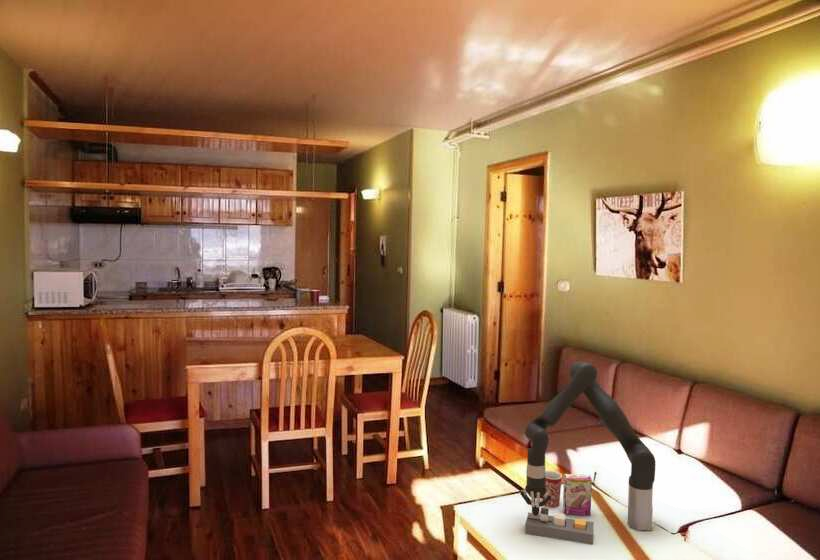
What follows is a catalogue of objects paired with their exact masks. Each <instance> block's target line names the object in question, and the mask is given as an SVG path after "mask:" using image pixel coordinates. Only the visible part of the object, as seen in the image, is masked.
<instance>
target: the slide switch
mask: <svg viewBox="0 0 820 560" xmlns="http://www.w3.org/2000/svg"><path fill="white" fill-rule="evenodd" d="M539 514H540V521H544V522H548V518H549V516H550V515H549V514H550V509H549V508H546V507H540V510H539Z"/></svg>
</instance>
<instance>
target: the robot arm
mask: <svg viewBox="0 0 820 560" xmlns="http://www.w3.org/2000/svg"><path fill="white" fill-rule="evenodd" d="M568 373H569V377H570V379H571V380H570V382H569V383H568V384H567V385H566V387H565V388H564V389H563V390H562V391H561V392H559V393H558V394H557V395H556V396H554V397H553V399H552V400H550V401H549V403H548V404H547V406H545V408H544V409H543V411H542V412H541V413H540V414H539V415H538V416H536V417H535V418H534V419H533V420H531V421H530V422H529V423H528V425H527V426H526V428H525V431H524V434H525V437H526V438H527V440H529V441H530V442H532V444H531V445H532V446H531V447H530V448H528V450H527V458H526V459H527V460H526V461H527V464H526V471H525V472H526V482H525V483H526V485H525V488H524V489H521V490H520V493H519V494H520V496H521V498H523V500H524V501H525V502H526V504H527V505H528V506H531V513H532V514H533V515H534V516H537V515H538V514H540V508H544V506H545V504H546V503H547V502H548V501H549V500H550V499H551V493H548V492H547V490H546V487H545V477H546V471H547V470H546V469H547V468H546V452H547V449H548V446H549V433H548V432H547V430H546V429H547V428H548V427H555V426H556V425H557V423H559V421H560V420H561V418H562V417H563V416H564V414H566V412H567V410H568V409H569V408H570V407H571V406H572V404H573V403H574V402H575V401H576V400H577V399H578V398H579V397H580V396H581V395H582V394H584V396H585V398H587V400H588V402H589V403H590V405H591V407H592V408H593V410H594V412H595V413H596V414H597V416H598V417H599V419H600V420H601V422H602V424H603V425H604V426H605V427H606V429H607V430H608V431H609V432H610V433H611V434H612V435H613V436H614V437H615V439H617V441H618V442H619V444H620V445H621V448H622V449H623V451H624V452H625V454H626V456H627V458H628V461H629V463H630V464H631V466H630V469H631V470H630V476H629V477H628V489H627V490H628V491H627V492H628V493H627V494H628V495H627V497H628V498H627V499H628V500H627V525H628V526H629V527H630V528H631V527H632V528H631V529H633V528H634V529H633V530H637V531H640V530H641V531H642V530H647V531H649V530H648V529H652V530H653V515H654V514H653V510H654V509H653V508H654V507H653V497H654V496H653V491H654V489H653V488H654V483H655V477H656V476H655V475H656V459H655V458H656V457H655V456H654V454H653V453H652V451H651V450H650V449H649V447H647V446H646V445H645V444H644V442H643V441H642V440H641V439H640V438H639V436H638V435H637V434H636V433H635V430H634V429H633V427H632V425H631V423H630V421H629V419H628V417H627V416H626V414H625V413H624V411H623V410H622V408H621V407H620V405H619V404H618V402H616V400H615V399H614V398H613V397H612V396H611V395H610V394H608V393H607V392H606V391H605V390H604V389H603V387H601V385H600V384H599V382H598V381H597V380H596V379H597V377H598V370H597V368H596V366H595V365H593V364H592V363H589V362H586V361H575V362H572V363H571V364H570V365H569V369H568ZM544 495H545V498H544V499H543V500H542V497H543V496H544ZM642 532H643V531H642Z"/></svg>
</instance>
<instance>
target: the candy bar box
mask: <svg viewBox="0 0 820 560" xmlns="http://www.w3.org/2000/svg"><path fill="white" fill-rule="evenodd" d="M592 483H593V480H592V477H591V475H590V474H575V473H564V474H563V496H562V510H563V514H565V515H568V516H569V515H572V516H588V517H589V516H590V517H591V511H592V509H591V508H592V506H591V505H592Z"/></svg>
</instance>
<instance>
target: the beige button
mask: <svg viewBox="0 0 820 560" xmlns="http://www.w3.org/2000/svg"><path fill="white" fill-rule="evenodd" d="M553 514H554V515H553V516H554V525H557V526H563V527H565V518H566V514H564V513H557V512H555V513H553Z"/></svg>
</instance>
